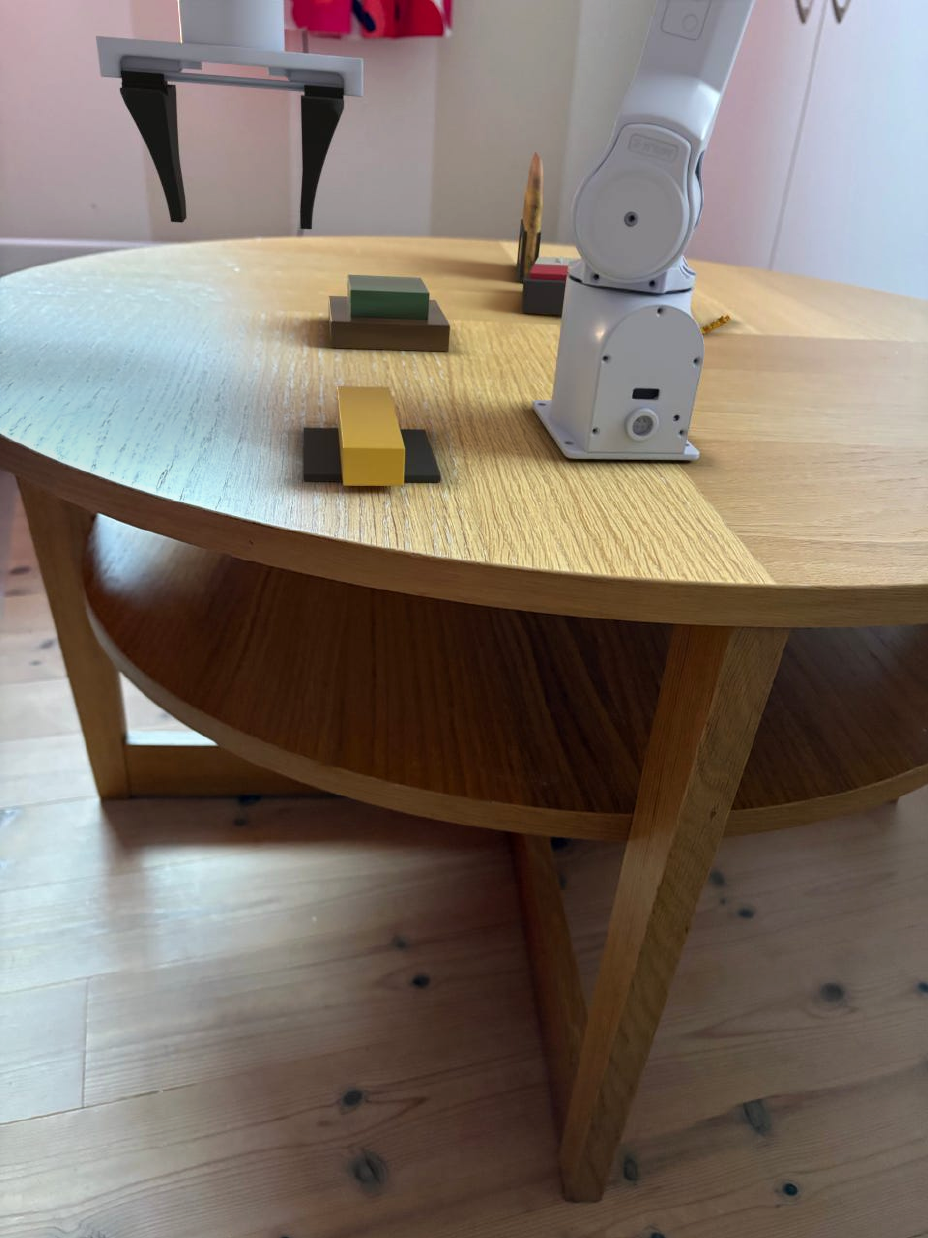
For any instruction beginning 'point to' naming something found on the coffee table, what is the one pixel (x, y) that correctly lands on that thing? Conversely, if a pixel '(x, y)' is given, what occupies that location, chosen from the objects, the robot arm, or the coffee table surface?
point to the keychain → (715, 324)
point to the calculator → (545, 286)
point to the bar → (369, 437)
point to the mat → (326, 457)
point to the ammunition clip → (531, 219)
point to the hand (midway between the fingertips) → (243, 223)
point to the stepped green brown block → (387, 316)
